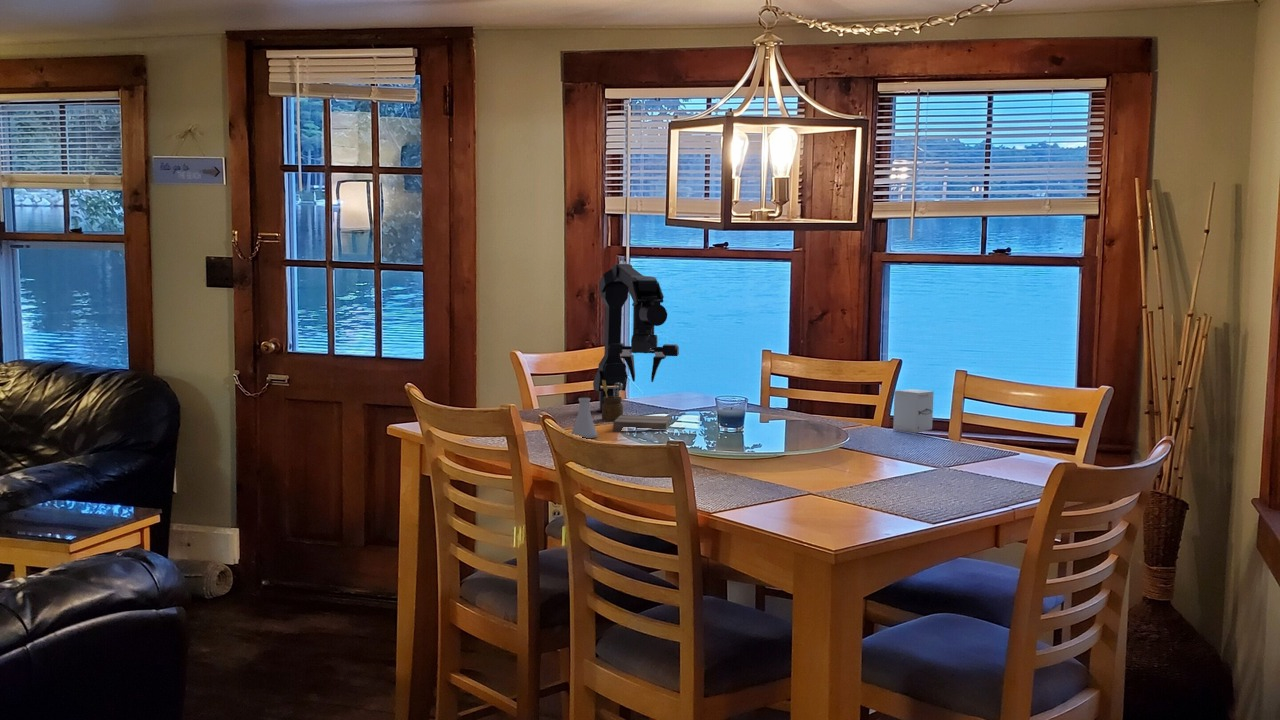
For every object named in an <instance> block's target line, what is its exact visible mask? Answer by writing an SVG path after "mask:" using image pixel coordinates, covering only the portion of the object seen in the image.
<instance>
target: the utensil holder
mask: <svg viewBox="0 0 1280 720" xmlns="http://www.w3.org/2000/svg"><path fill="white" fill-rule="evenodd" d="M603 382H604V380H602V384H603V386H602V387H603V389H604V391H605V393H606V396H605V397H604V398H603V401H604V403H603V405H602V412H601V421H604V422H614V421H615V420H616V419H617V418H618V417H619V416H620V415H624V406H623V403H622V402H623V399H622V396H621V395H622V394H621V393H622V390H621V389H620V391H619V396H607V391H608V390H607V387H608V386H607V385H606V381H605V382H604V383H603ZM618 384H619V383H618ZM620 384H621V383H620ZM616 385H617V383H616ZM613 387H616V386H615V385H614V386H613ZM621 387H622V386H621ZM615 389H616V388H615ZM617 389H619V388H617ZM614 392H615V390H614ZM614 395H615V393H614ZM617 395H618V394H617Z"/></svg>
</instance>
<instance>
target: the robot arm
mask: <svg viewBox="0 0 1280 720" xmlns="http://www.w3.org/2000/svg"><path fill="white" fill-rule="evenodd" d="M598 283H599V285H598V291H599V293H600V298H601V300H602V302H603V303H604V305H605V321H604V322H605V324H604V326H605V327H604V328H605V330H604V355H603V357H602V358H601V360H600V361H599V363H598V367H597V369H598V370H597V371H596V374H595V377H594V379H593V383H592V387H593V390H594V391H595V392H599V408H598V409H597V410H596V412H597V413H598V412H599V413H602V405H603V403H604V401H603V398H604V397H605V396H606V393H605V391H604V389H603V384H602V380H604V382H605V381H606V385H607V390H608V391H607V396H620V394H619V393H620V392H621V391H624V392H625V391H626V389H627V384H628V383H627V381H628V376H629V375H628V373H627V367H628V370H629V373H630V375H631V379H632V382H636V368H635V355H634V354H654V356H653V358H652V361H653V362H652V368H651V369H652V370H651V383H654V381H655V377H656V375H657V372H658V368H659V367H660V364H661V361H662V360H665V359H666V358H667V357H678V356H679V355H680V347H679V346H678V344H677V343H676V344H674V343H673V344H669V343H665V344H663V345H662V346H658V345H659V343H658V334H655V327H659V326H663V324H665V323H666V321H667V318H668V312H667V309H666V307H664V305H663V304H661V303H664V293H663V292H662V288H661V285H660V283H659V281H658V279H657V278H656V277H655V276H649V275H644V274H641V273H640V272H639V271H638V270H636V269H635V268H634V267H633V265H632V264H630V263H616V264H613V266H612V268H611V269H610V270H608V271H606V272H605V273H603V274H602V276H601V278H600V279H599V282H598ZM629 295H630V297H631V299H632V307H633V308H632V310H633V312H632V315H633V316H632V336H631V338H630V339H631V340H630V341H631V342H630V343H631V344H630V345H625V343H622V319H623V317H622V316H623V315H622V314H623V313H622V312H623V311H622V310H623V307H624V305H625V303H626V302H627V300H628V298H629ZM623 359H624V361H625V362H624V361H623ZM604 382H603V383H604ZM616 383H617V385H616ZM618 383H619V384H618ZM620 383H621V384H620ZM614 385H615V386H614ZM621 386H622V387H621ZM615 388H616V389H615ZM617 388H619V389H617ZM620 389H621V390H620ZM614 390H615V392H614ZM614 393H615V395H614ZM617 394H618V395H617Z"/></svg>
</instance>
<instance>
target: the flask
mask: <svg viewBox="0 0 1280 720" xmlns="http://www.w3.org/2000/svg"><path fill="white" fill-rule="evenodd" d="M591 399H592V398H590V397H579V398H578V402H579V405H578V412H577V416H576V420H575V422H574V424H573V428H572V431H571V433H572V434H575V435H579V436H582V437H586V438H587V439H594V438H598V432H597V429H596V426H595V424H594V420H593V417H592V414H591V409H590V403H591V402H590V401H591ZM586 438H585V439H586Z"/></svg>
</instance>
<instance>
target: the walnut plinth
mask: <svg viewBox="0 0 1280 720" xmlns="http://www.w3.org/2000/svg"><path fill="white" fill-rule="evenodd" d="M612 422H613V423H612V424H613V425H612V427H613V430H612V431H613V432H621V430H622V428H623V427H636V428H652V429H666V428H667V427H668V425H669V423H670V422H671V423H672V416H669V415H667V416H666V415H665V416H664V415H638V414H637V415H635V414H633V415H632V414H623V415H620V416H619V417H618V418H617V419H616V420H615V421H612ZM671 423H670V424H671ZM669 426H670V425H669ZM668 428H669V427H668ZM668 428H667V429H668Z"/></svg>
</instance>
